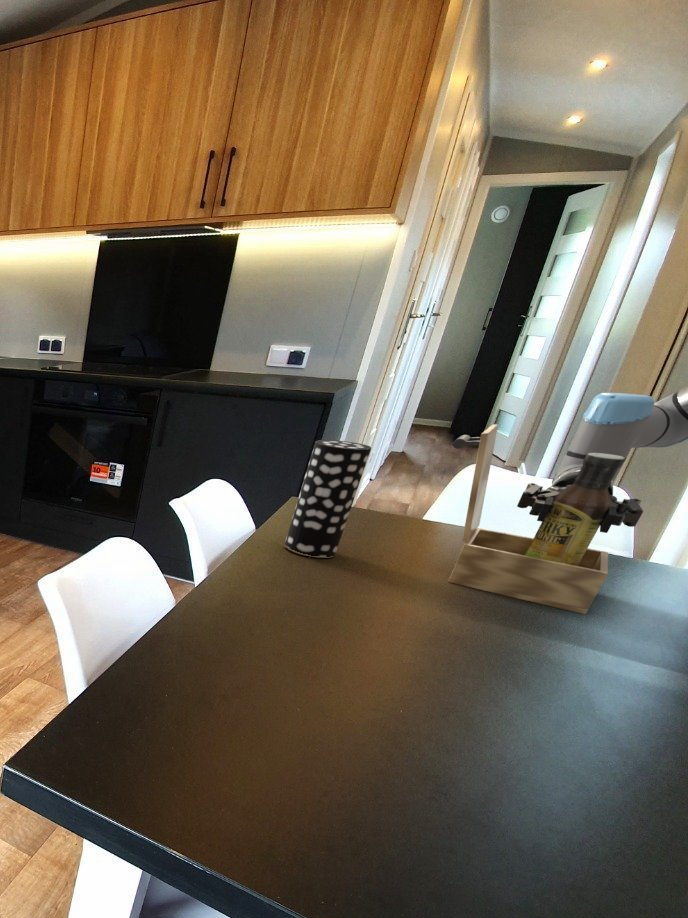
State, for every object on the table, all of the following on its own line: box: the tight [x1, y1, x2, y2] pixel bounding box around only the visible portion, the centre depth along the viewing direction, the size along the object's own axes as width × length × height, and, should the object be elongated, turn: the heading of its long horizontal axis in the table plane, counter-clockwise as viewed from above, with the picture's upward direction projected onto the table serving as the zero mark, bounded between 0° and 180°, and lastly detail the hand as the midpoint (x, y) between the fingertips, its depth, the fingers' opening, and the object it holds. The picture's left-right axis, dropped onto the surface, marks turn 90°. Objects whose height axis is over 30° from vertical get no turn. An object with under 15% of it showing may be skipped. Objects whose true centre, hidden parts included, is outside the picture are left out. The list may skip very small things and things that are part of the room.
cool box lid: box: [452, 423, 499, 543], centre depth 107 cm, size 17×14×4 cm
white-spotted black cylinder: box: [284, 439, 372, 557], centre depth 116 cm, size 8×8×20 cm
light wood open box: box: [447, 527, 609, 615], centre depth 105 cm, size 17×14×7 cm
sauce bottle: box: [525, 453, 626, 566], centre depth 99 cm, size 6×6×20 cm
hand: (575, 518), depth 95 cm, fingers closed on sauce bottle, 6 cm apart
